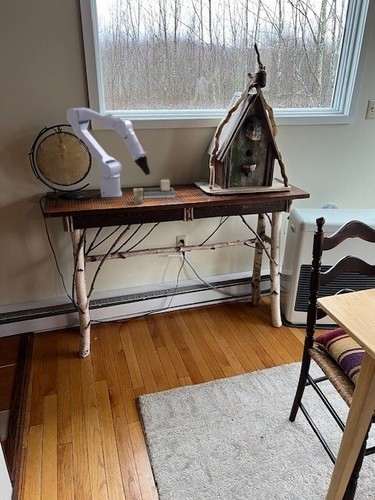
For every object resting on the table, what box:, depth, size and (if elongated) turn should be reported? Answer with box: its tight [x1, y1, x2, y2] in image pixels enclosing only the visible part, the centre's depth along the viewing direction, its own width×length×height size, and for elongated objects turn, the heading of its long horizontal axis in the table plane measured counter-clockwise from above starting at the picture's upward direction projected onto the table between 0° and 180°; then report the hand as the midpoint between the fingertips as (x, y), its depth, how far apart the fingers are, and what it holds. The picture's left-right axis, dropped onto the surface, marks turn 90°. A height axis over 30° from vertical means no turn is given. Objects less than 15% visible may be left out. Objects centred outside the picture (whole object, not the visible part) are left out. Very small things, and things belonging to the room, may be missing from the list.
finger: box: [133, 187, 145, 205], centre depth 163 cm, size 4×4×6 cm
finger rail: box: [143, 179, 175, 200], centre depth 173 cm, size 18×9×7 cm, turn 98°
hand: (148, 173), depth 162 cm, fingers open, 7 cm apart
